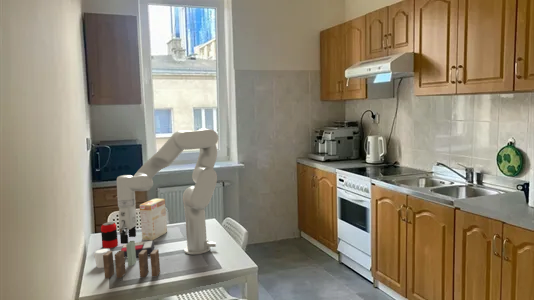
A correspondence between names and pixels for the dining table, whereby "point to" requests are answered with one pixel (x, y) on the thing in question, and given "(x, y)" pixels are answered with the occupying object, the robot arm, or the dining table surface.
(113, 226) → the soda can
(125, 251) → the black and red box
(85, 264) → the dining table surface
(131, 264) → the domino
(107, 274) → the domino
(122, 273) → the domino
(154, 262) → the domino
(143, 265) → the domino
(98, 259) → the white short cylinder
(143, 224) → the coffeecake box
